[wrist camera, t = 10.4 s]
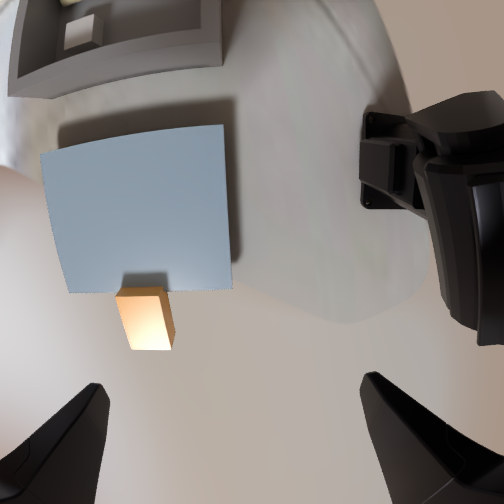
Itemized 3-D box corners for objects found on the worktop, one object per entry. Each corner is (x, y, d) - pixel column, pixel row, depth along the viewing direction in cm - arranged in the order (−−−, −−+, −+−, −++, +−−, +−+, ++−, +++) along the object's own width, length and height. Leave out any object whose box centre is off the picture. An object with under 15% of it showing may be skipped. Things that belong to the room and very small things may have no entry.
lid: (224, 125, 16) (222, 123, 14) (235, 322, 22) (236, 348, 19) (54, 151, 16) (29, 156, 13) (93, 323, 21) (80, 346, 19)
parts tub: (221, -51, 11) (219, -91, 6) (222, 65, 15) (219, 42, 10) (62, -14, 10) (30, -35, 6) (51, 99, 14) (7, 96, 10)
